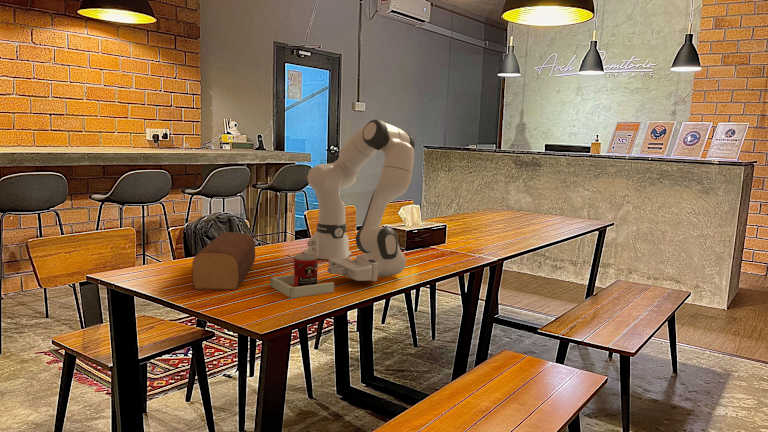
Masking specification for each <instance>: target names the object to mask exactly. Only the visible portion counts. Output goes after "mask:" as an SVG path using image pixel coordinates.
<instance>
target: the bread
mask: <svg viewBox="0 0 768 432" xmlns="http://www.w3.org/2000/svg"><path fill="white" fill-rule="evenodd" d="M194 255H195V256H194V258H193V260H192V265H191V266H192V268H191V269H192V271H191V278H192V279H191V280H192V285H193V289H194V290H195V291H196V290H197V291H199V290H201V291H206V290H207V291H212V290H213V291H217V290H218V291H237V289H238V288H239V287H240V285H241V283H242V282H243V280H244V279H245V277H246V276H247V274H248V273H249V271H250V269H251V268H252V267H253V265H254V263H255V259H256V241H255V239H254V238H253V236H252V235H250V234H249V233H243V232H233V231H231V232H229V231H227V232H222V233H220V234H219V235H218V236H216V237H215V238H214V239H213V240H211V242H210V243H209V244H207V245H206V246H205V247H204V248H202V249H201V250H200V251H198V252H197V253H196V254H194Z"/></svg>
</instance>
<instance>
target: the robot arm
mask: <svg viewBox="0 0 768 432" xmlns="http://www.w3.org/2000/svg"><path fill="white" fill-rule="evenodd" d="M415 144H416V142H415V139H414V138H413V137H412V136H411V134H409V133H408V132H406V131H404V130H403V129H401V128H400V127H397V125H392V124H390V123H387V122H385V121H384V120H381V119H371V120H370V121H369V122H367V123H366V124H365V125H364V126H362V127H361V128H360V129H359V130H357V131H356V132H355V133H354V135H352V136H351V137H350V138H349V140H348V141H347V142H346V143H345V144H343V145H342V147H340V151H339V156H338V158H337V160H335V161H334V162H332V163H331V162H330V163H320V164H317V165H315V166H313V167H311V168H310V169H309V171H308V174H307V182H308V184H309V186H310V188H312V189H313V192H314V193H315V196H316V199H317V204H318V223H317V224H316V230H315V233H313V235H311V237H309V239H308V241H307V247H308V248H304V249H303V250H302V254H314V255H317V258H318V259H319V260H328V267H327V273H329V274H331V275H343V276H345V277H347V278H349V279H352V280H353V281H359V282H362V281H371V282H377V281H378V278H388V277H391V276H396V275H399V274H400V273H402V272H403V271H404V269H405V267H406V264H407V263H406V262H407V261H406V260H407V259H406V255H405V254H404V253H403V251H402V250H401V248H400V245H399V236H398V234H397V232H396V231H395V230H394V229H393V228H392V227H389V226H387V227H386V226H381V223H382V221H383V216H384V213H385V210H386V208H387V206H388V205H389V204H390V203H391V202H392V201H393V200H395V199H396V198H397V197H400V196H402V195H403V194H405V192H407V190H408V188H410V184H411V182H412V181H411V180H412V178H413V177H412V175H413V171H414V163H415V146H416V145H415ZM377 152H379V153H381V154H384V160H383V165H382V168H381V173H380V176H379V179H378V182H377V185H376V187H375V189H374V190H373V192H372V195H371V198H370V201H369V204H368V206H367V210H366V214H365V217H364V220H363V222H362V225H361V226H360V228H359V229H358V231H357V233H356V235H355V244H356V247H357V249H358V250H359V251H360V252H362V253H363V254H358V255H356V257H355V258H354V259H351V258H349V257H350V256H352V252H351V251H350V244H349V236H348V235H347V233H346V232H347V228H348V227H347V223H346V207H347V206H346V204H345V202H344V201H343V200H342V198H341V195H340V190H345V189H347V188H349V187H351V186H353V185H354V184H355V183H356V181H357V177H358V176H357V175H358V173H359V171H360V170H361V168H362V167H363V166H364V165H365V164H366V163H367V162H368V161H369V160H370V159H371V158H372V157H373V156H374V155H375V154H376V153H377Z"/></svg>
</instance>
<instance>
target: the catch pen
mask: <svg viewBox="0 0 768 432" xmlns="http://www.w3.org/2000/svg"><path fill="white" fill-rule="evenodd" d="M269 278H270V280H269V281H270V287H271V288H273V289H275V290H276V291H278V292H280V293H281V294H284V296H287V297H288V298H290V299H294V298H302V297H308V296H309V297H310V296H315V295H316V296H317V295H321V294H322V295H323V294H329V293H335V283H334V282H333V281H332V282H331V281H330V282H325V283H317V284H315V285H308V286H300V287H294V286H292V285H294V274H287V275H281V276H280V275H279V276H271V277H269Z"/></svg>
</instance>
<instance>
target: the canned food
mask: <svg viewBox="0 0 768 432" xmlns="http://www.w3.org/2000/svg"><path fill="white" fill-rule="evenodd" d="M293 258H294V259H293V263H294V264H293V265H294V266H293V275H294V284H293V287H300V286H308V285H315V284H318V264H319V263H318V258H317V255H314V254H305V253H299V254H296V255H294V257H293Z"/></svg>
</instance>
